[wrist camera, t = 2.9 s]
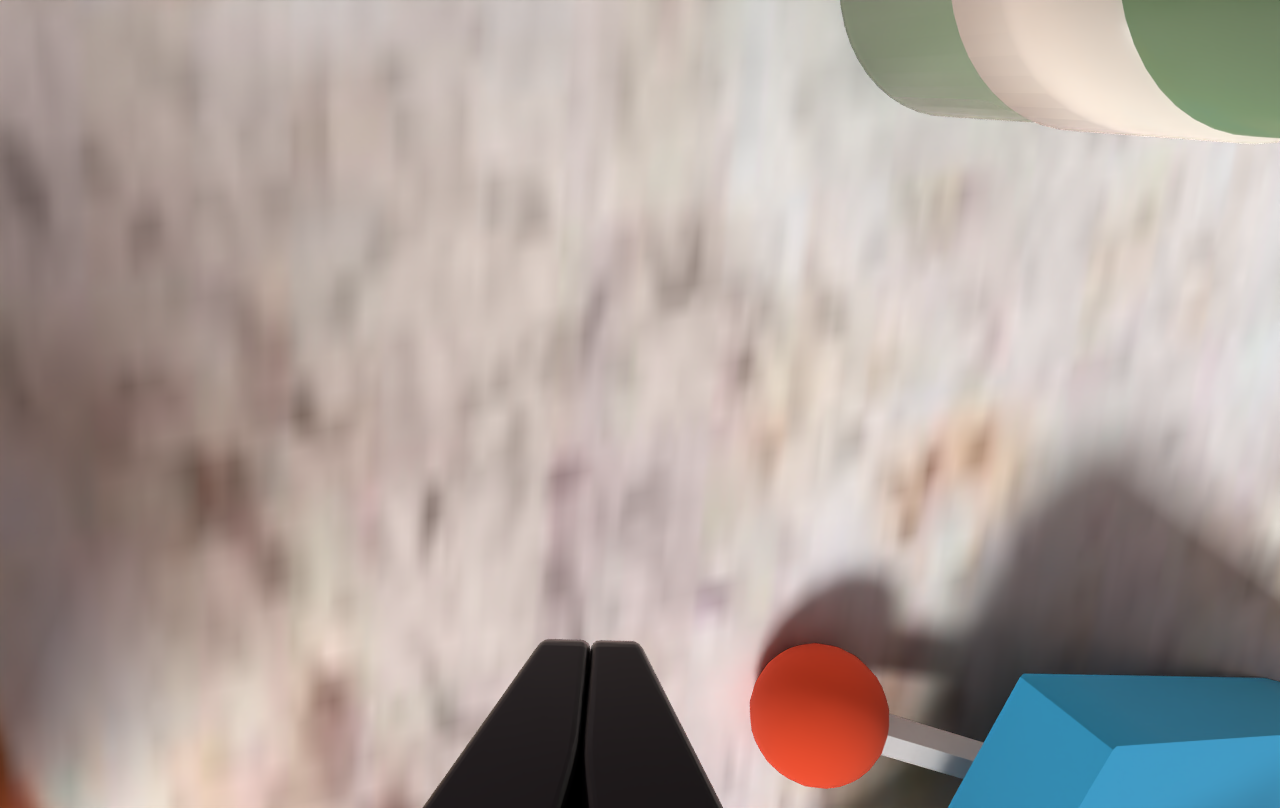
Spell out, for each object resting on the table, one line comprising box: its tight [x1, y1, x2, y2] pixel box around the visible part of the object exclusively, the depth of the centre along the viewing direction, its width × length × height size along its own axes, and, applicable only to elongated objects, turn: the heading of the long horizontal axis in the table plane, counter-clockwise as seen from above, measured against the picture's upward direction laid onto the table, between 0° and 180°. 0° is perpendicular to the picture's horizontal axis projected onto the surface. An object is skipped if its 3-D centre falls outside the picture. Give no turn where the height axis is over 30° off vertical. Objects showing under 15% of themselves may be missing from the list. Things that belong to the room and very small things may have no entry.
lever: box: [750, 643, 1280, 808], centre depth 25 cm, size 7×7×18 cm
